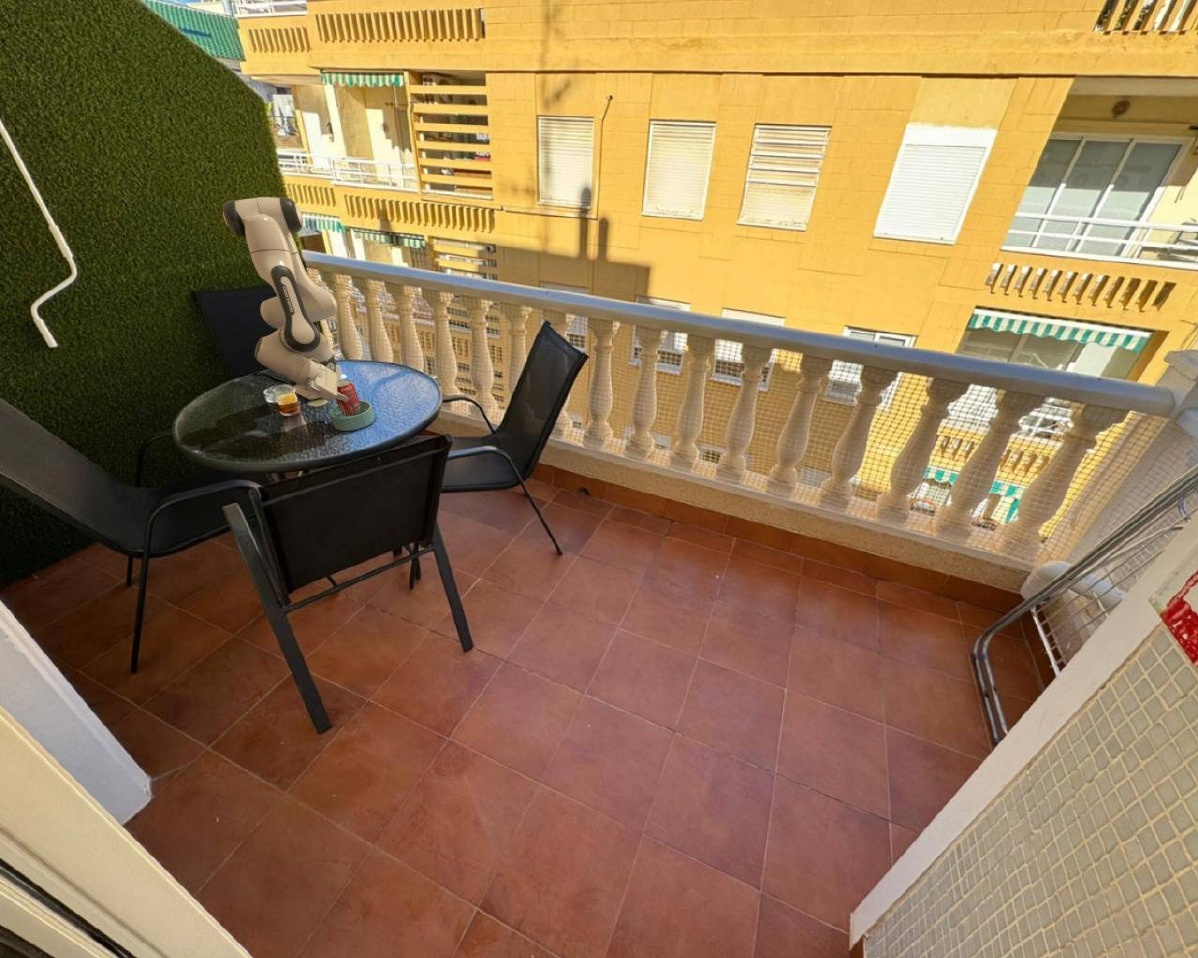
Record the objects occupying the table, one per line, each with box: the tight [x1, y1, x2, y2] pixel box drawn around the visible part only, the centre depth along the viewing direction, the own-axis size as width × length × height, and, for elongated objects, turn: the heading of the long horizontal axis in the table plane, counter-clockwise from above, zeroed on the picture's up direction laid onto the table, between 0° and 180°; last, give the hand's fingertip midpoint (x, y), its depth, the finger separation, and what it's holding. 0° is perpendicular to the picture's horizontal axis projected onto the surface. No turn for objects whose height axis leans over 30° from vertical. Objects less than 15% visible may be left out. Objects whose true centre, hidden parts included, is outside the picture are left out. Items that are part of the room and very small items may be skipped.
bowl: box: [328, 399, 376, 432], centre depth 182 cm, size 14×14×6 cm
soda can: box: [335, 379, 361, 417], centre depth 178 cm, size 7×7×12 cm
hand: (347, 395), depth 178 cm, fingers closed on soda can, 7 cm apart
